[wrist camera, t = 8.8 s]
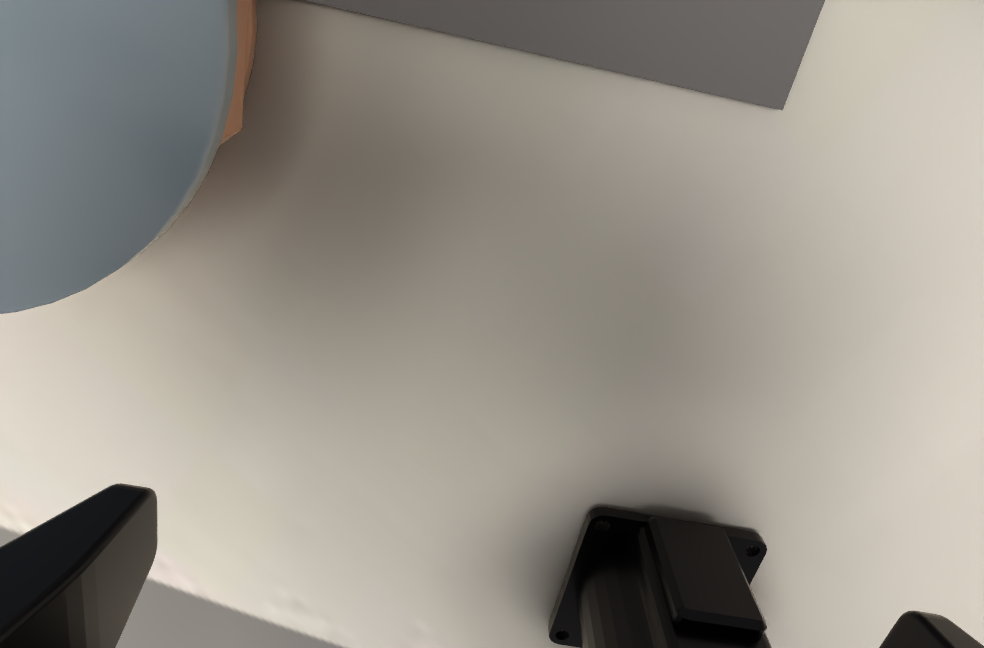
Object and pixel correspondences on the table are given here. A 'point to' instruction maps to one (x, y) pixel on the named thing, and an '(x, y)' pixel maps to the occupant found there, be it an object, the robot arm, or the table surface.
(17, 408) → the table surface
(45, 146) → the lid
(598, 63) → the mat
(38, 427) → the table surface
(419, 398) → the table surface
